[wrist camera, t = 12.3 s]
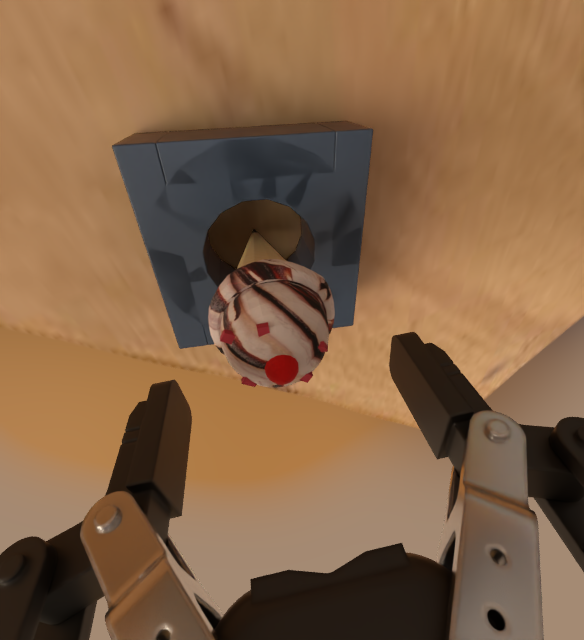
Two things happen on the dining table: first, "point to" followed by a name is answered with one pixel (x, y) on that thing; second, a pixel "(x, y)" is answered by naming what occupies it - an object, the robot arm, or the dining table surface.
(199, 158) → the cone stand
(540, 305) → the dining table surface
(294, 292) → the ice cream cone
